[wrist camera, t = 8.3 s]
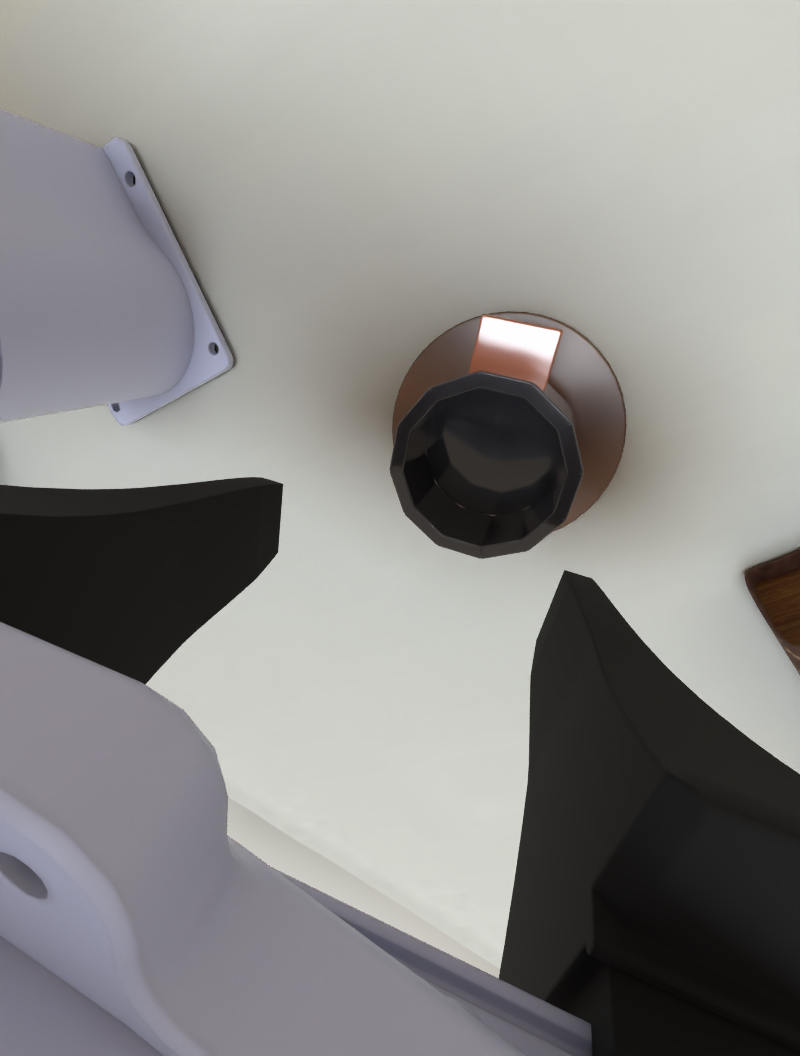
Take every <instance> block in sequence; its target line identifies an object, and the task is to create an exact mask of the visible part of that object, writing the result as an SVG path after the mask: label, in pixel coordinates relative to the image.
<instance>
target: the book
mask: <svg viewBox="0 0 800 1056" xmlns="http://www.w3.org/2000/svg"><path fill="white" fill-rule="evenodd" d="M745 581H746V584H747V587H748V589H749V592H750V594H751V596H752V598H753V600H754V601H755V603H756V605H757V607H758V608H759V610H760V612H761V613H762V615H763V617H764V618H765V620H766V622H767V623H768V625H769V626H770V628H771V630H772V631H773V633H774V634H775V636H776V638H777V639H778V641H779V642H780V644H781V646H782V647H783V649H784V650H785V652H786V654H787V655H788V657H789V658H790V660H791V661H792V663H793V665H794V666H795V668H796V669H797V671H798V673H799V674H800V550H798V551H796V552H794V553H791V554H789V555H787V556H784V557H782V558H779V559H777V560H774V561H771V562H768V563H765V564H762V565H759V566H756V567H753V568H751V569H749V570H748V571H746V573H745Z"/></svg>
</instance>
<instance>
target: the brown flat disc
mask: <svg viewBox="0 0 800 1056" xmlns="http://www.w3.org/2000/svg"><path fill="white" fill-rule="evenodd" d="M488 315H493V316H498V317H503V318H508V319H513V320H518V321H522V322H527V323H532V324H537V325H542V326H547V327H552V328H557V329H562V330H563V334H562V337H561V340H560V343H559V347H558V350H557V353H556V356H555V360H554V363H553V366H552V369H551V373H550V376H549V379H548V382H547V383H548V384H549V385H550V386H551V387H552V388H553V389H554V390H555V391H556V392H557V393H558V394H559V395H560V396H561V397H562V398H563V399H564V400H565V401H566V402H567V403H568V404H569V405H570V407H571V408H572V412H573V417H574V421H575V426H576V430H577V435H578V440H579V444H580V449H581V455H582V462H583V469H584V473H583V478H582V480H581V483H580V486H579V488H578V491H577V494H576V496H575V499H574V502H573V504H572V507H571V510H570V512H569V515H568V518H567V520H566V521H565V522H564V523H563V524H562V525H560V526H559V527H558V528H556V529H555V530H554V531H556V530H558V529H560V528H563V527H564V526H566V525H568V524H569V523H571V522H572V521H574V520H576V519H577V518H578V517H579V516H581V515H582V514H583V513H584V512H586V511H587V510H588V509H589V508H590V507H591V506H592V505H593V504H594V503H595V502H596V501H597V500H598V499H599V497H600V496H601V495H602V493H603V492H604V491H605V489H606V488H607V487H608V485H609V483H610V481H611V479H612V478H613V476H614V474H615V472H616V470H617V467H618V464H619V462H620V459H621V456H622V452H623V448H624V444H625V435H626V410H625V405H624V400H623V395H622V392H621V389H620V386H619V383H618V380H617V378H616V376H615V374H614V372H613V370H612V368H611V367H610V365H609V363H608V362H607V360H606V359H605V358H604V356H603V355H602V354H601V352H600V351H599V350H598V349H597V348H596V347H595V346H594V345H593V344H592V343H591V342H590V341H589V340H588V339H587V338H586V337H584V336H583V335H581V334H580V333H579V332H577V331H576V330H575V329H573V328H571V327H569V326H567V325H565V324H564V323H562V322H560V321H558V320H555V319H552V318H549V317H546V316H543V315H538V314H533V313H527V312H510V311H508V312H498V313H490V314H488ZM480 320H481V316H478V317H475V318H472V319H470V320H467V321H464V322H462V323H460V324H458V325H456V326H454V327H453V328H451V329H449V330H447V331H446V332H444V333H443V334H442V335H440V336H439V337H438V338H436V339H435V340H434V341H433V342H432V343H431V344H430V345H429V346H428V347H426V348H425V349H424V350H423V351H422V353H421V354H420V355H419V356H418V358H417V359H416V360H415V362H414V363H413V364H412V366H411V368H410V369H409V371H408V373H407V374H406V376H405V378H404V380H403V383H402V385H401V387H400V390H399V393H398V396H397V399H396V403H395V408H394V414H393V429H392V433H393V445H394V442H395V437H396V431H397V426H398V424H399V423H400V421H401V420H402V419H403V418H404V417H405V416H406V414H407V413H408V412H409V411H410V410H411V409H412V407H413V406H414V405H415V404H416V403H417V401H418V400H419V399H420V398H421V397H422V396H423V394H424V393H425V392H426V391H427V390H428V389H429V388H430V387H432V386H434V385H436V384H438V383H440V382H443V381H445V380H447V379H449V378H451V377H454V376H457V375H460V374H463V373H466V372H468V371H469V367H470V362H471V358H472V354H473V350H474V345H475V341H476V337H477V332H478V328H479V324H480ZM425 452H426V450H425ZM435 483H436V482H435ZM436 484H437V483H436ZM459 506H460V505H459ZM460 507H462V506H460ZM463 508H464V507H463ZM526 509H527V508H526ZM491 516H495V515H491ZM554 531H553V532H554ZM551 533H552V532H551Z"/></svg>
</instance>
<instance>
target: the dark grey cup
mask: <svg viewBox="0 0 800 1056" xmlns="http://www.w3.org/2000/svg"><path fill="white" fill-rule="evenodd" d="M562 334H563V330H562V329H557V328H552V327H547V326H542V325H537V324H532V323H527V322H522V321H518V320H513V319H508V318H503V317H498V316H493V315H488V314H482V316H481V320H480V324H479V328H478V332H477V337H476V341H475V345H474V350H473V354H472V358H471V362H470V367H469V371H468V372H466V373H463V374H460V375H457V376H454V377H451V378H449V379H447V380H445V381H443V382H440V383H438V384H436V385H434V386H432V387H430V388H429V389H428V390H427V391H426V392H425V393H424V394H423V396H422V397H421V398H420V399H419V400H418V401H417V403H416V404H415V405H414V406H413V407H412V409H411V410H410V411H409V412H408V413H407V414H406V416H405V417H404V418H403V419H402V420H401V421H400V423H399V424H398V426H397V431H396V437H395V442H394V448H393V454H392V459H391V465H390V474H391V477H392V479H393V482H394V485H395V488H396V491H397V494H398V497H399V500H400V503H401V506H402V509H403V512H404V513H405V515H406V516H407V517H408V518H409V519H410V520H411V521H412V522H413V523H414V524H415V525H416V526H417V527H419V528H420V529H421V530H422V531H423V532H424V533H425V534H426V535H427V536H428V537H429V538H430V539H431V540H432V541H433V542H434V543H435V544H438V546H441V547H444V548H448V549H451V550H454V551H457V552H460V553H464V554H467V555H470V556H473V557H477V558H482V559H484V558H490V557H496V556H501V555H507V554H513V553H519V552H525V551H527V550H530V549H531V548H532V547H534V546H535V545H536V544H538V543H539V542H540V541H541V540H543V539H544V538H545V537H546V536H548V535H549V534H550V533H551V532H553V531H554V530H555V529H556V528H558V527H559V526H560V525H562V524H563V523H564V522H565V521H566V520H567V518H568V515H569V512H570V510H571V507H572V504H573V502H574V499H575V496H576V494H577V491H578V488H579V486H580V483H581V480H582V478H583V473H584V469H583V462H582V455H581V449H580V444H579V440H578V435H577V430H576V426H575V421H574V417H573V412H572V408H571V407H570V405H569V404H568V403H567V402H566V401H565V400H564V399H563V398H562V397H561V396H560V395H559V394H558V393H557V392H556V391H555V390H554V389H553V388H552V387H551V386H550V385H549V384H548V383H547V382H548V379H549V376H550V373H551V369H552V366H553V363H554V360H555V356H556V353H557V350H558V347H559V343H560V340H561V337H562ZM425 450H426V452H425ZM435 482H436V483H437V484H436V483H435ZM459 505H460V506H462V507H460V506H459ZM463 507H464V508H463ZM526 508H527V509H526ZM491 515H495V516H491Z"/></svg>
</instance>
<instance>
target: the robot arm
mask: <svg viewBox="0 0 800 1056" xmlns="http://www.w3.org/2000/svg"><path fill="white" fill-rule="evenodd" d="M134 175H135V179H136V182H135V185H134V184H133V177H134ZM215 343H216V344H217V346H218V349H219V350H218V353H216V351H215V349H214V345H215ZM232 365H233V357H232V354H231V352H230V350H229V348H228V346H227V344H226V342H225V340H224V337H223V335H222V333H221V331H220V329H219V327H218V325H217V323H216V321H215V319H214V317H213V315H212V313H211V310H210V308H209V306H208V304H207V302H206V300H205V298H204V296H203V294H202V292H201V290H200V288H199V286H198V283H197V281H196V279H195V277H194V275H193V273H192V271H191V269H190V267H189V265H188V263H187V261H186V259H185V257H184V254H183V252H182V250H181V248H180V246H179V244H178V242H177V240H176V238H175V236H174V234H173V232H172V230H171V227H170V225H169V223H168V221H167V219H166V217H165V215H164V213H163V211H162V209H161V207H160V205H159V203H158V200H157V198H156V196H155V194H154V192H153V190H152V188H151V186H150V184H149V182H148V180H147V178H146V176H145V173H144V171H143V169H142V167H141V165H140V163H139V161H138V159H137V157H136V155H135V153H134V151H133V149H132V147H131V145H130V144H129V143H128V142H127V141H125V140H123V139H121V138H118V137H114V138H112V139H111V140H110V141H109V142H108V143H107V144H106V145H105V146H104V147H103V148H100V147H98V146H95V145H92V144H90V143H87V142H85V141H82V140H79V139H77V138H74V137H72V136H69V135H67V134H64V133H61V132H59V131H56V130H54V129H51V128H48V127H46V126H43V125H41V124H38V123H35V122H33V121H30V120H28V119H25V118H23V117H20V116H17V115H15V114H12V113H10V112H7V111H4V110H2V109H0V423H1V422H7V421H13V420H19V419H25V418H30V417H36V416H42V415H48V414H54V413H60V412H66V411H71V410H77V409H83V408H89V407H95V406H101V405H106V404H107V405H108V407H109V408H110V410H111V412H112V414H113V416H114V417H115V419H116V420H117V422H118V423H119V424H121V425H124V426H125V425H129V424H132V423H134V422H136V421H138V420H140V419H141V418H143V417H145V416H147V415H149V414H151V413H152V412H154V411H156V410H158V409H160V408H161V407H163V406H165V405H167V404H169V403H170V402H172V401H174V400H176V399H178V398H179V397H181V396H183V395H185V394H187V393H188V392H190V391H192V390H194V389H196V388H197V387H199V386H201V385H203V384H205V383H206V382H208V381H210V380H212V379H214V378H215V377H217V376H219V375H221V374H223V373H224V372H226V371H228V370H230V369H231V368H232ZM118 404H119V406H120V408H119V406H118ZM282 491H283V484H281V483H278V482H275V481H272V480H268V479H265V478H258V477H247V478H234V479H224V480H215V481H206V482H197V483H189V484H179V485H168V486H157V487H146V488H131V489H93V490H92V489H57V488H32V487H19V486H7V485H0V1056H800V774H799V773H797V772H796V771H794V770H793V769H791V768H790V767H788V766H787V765H785V764H784V763H782V762H781V761H779V760H778V759H777V758H775V757H774V756H773V755H771V754H770V753H768V752H767V751H766V750H764V749H763V748H762V747H760V746H759V745H757V744H756V743H755V742H753V741H752V740H751V739H749V738H748V737H747V736H746V735H744V734H743V733H742V732H741V731H739V730H738V729H737V728H736V727H734V726H733V725H732V724H730V723H729V722H728V721H727V720H725V719H724V718H723V717H722V716H720V715H719V714H718V713H717V712H715V711H714V710H713V709H712V708H711V707H710V706H708V705H707V704H706V703H705V702H704V701H703V700H701V699H700V698H699V697H698V696H697V695H696V694H695V693H694V692H693V691H692V690H690V689H689V688H688V687H687V686H686V685H685V684H684V683H683V682H682V681H681V680H680V679H679V678H677V677H676V676H675V675H674V674H673V673H672V672H671V671H670V670H669V669H668V668H667V667H666V666H665V665H664V664H663V663H662V662H661V660H660V659H659V658H658V657H657V656H656V655H655V654H654V653H653V652H652V651H651V650H650V649H649V647H648V646H647V645H646V644H645V643H644V642H643V641H642V640H641V638H640V637H639V636H638V635H637V634H636V633H635V631H634V630H633V629H632V628H631V627H630V625H629V624H628V623H627V622H626V620H625V619H624V618H623V617H622V615H621V614H620V613H619V612H618V610H617V609H616V608H615V606H614V605H613V604H612V603H611V601H610V600H609V599H608V597H607V596H606V595H605V593H604V592H603V591H602V590H601V588H600V587H599V586H598V585H597V583H596V582H595V581H594V580H593V579H592V578H588V577H585V576H582V575H579V574H575V573H572V572H569V571H566V570H564V573H563V575H562V578H561V580H560V583H559V585H558V588H557V590H556V593H555V595H554V598H553V600H552V603H551V605H550V608H549V610H548V613H547V615H546V618H545V620H544V623H543V625H542V628H541V630H540V633H539V635H538V638H537V640H536V646H535V652H534V658H533V664H532V671H531V683H530V735H529V771H528V785H527V793H526V801H525V809H524V816H523V824H522V832H521V839H520V846H519V853H518V860H517V867H516V874H515V881H514V888H513V894H512V900H511V907H510V913H509V920H508V926H507V932H506V939H505V945H504V951H503V957H502V963H501V969H500V975H499V979H498V978H496V977H494V976H492V975H490V974H488V973H486V972H484V971H482V970H480V969H478V968H476V967H474V966H472V965H470V964H468V963H466V962H464V961H462V960H460V959H457V958H455V957H453V956H451V955H449V954H447V953H445V952H443V951H441V950H439V949H437V948H435V947H433V946H431V945H429V944H427V943H425V942H423V941H421V940H419V939H417V938H415V937H413V936H411V935H408V934H407V933H404V932H402V931H400V930H398V929H396V928H394V927H392V926H390V925H388V924H386V923H384V922H382V921H380V920H378V919H376V918H374V917H372V916H370V915H368V914H366V913H364V912H362V911H360V910H357V909H356V908H354V907H352V906H349V905H347V904H345V903H343V902H341V901H339V900H337V899H335V898H333V897H331V896H329V895H327V894H325V893H323V892H321V891H319V890H317V889H315V888H313V887H311V886H309V885H307V884H305V883H303V882H300V881H299V880H296V879H295V878H292V877H290V876H288V875H286V874H284V873H282V872H280V871H278V870H276V869H274V868H272V867H270V866H269V865H267V864H266V863H265V862H264V861H262V860H261V859H259V858H258V857H257V856H255V855H254V854H253V853H251V852H250V851H249V850H247V849H246V848H245V847H243V846H242V845H240V844H239V843H238V842H236V841H235V840H233V839H232V838H230V837H229V836H227V811H228V796H227V791H226V785H225V782H224V778H223V775H222V771H221V768H220V764H219V761H218V758H217V754H216V751H215V748H214V747H213V745H212V744H211V743H210V742H209V741H208V739H207V738H206V737H205V736H204V734H203V733H202V732H201V731H200V729H199V728H198V727H197V726H196V725H195V723H194V722H193V721H192V720H191V718H190V717H189V716H188V715H187V713H186V712H185V711H184V710H183V709H181V708H180V707H178V706H177V705H175V704H174V703H172V702H171V701H169V700H168V699H166V698H165V697H163V696H161V695H160V694H158V693H157V692H155V691H154V690H152V689H151V688H149V687H148V686H146V685H145V684H146V683H147V682H148V681H149V680H150V679H151V677H152V676H153V675H154V674H155V673H156V672H157V671H158V670H159V668H160V667H161V666H162V665H163V664H164V663H165V662H166V661H167V660H168V659H169V658H170V657H171V656H172V654H173V653H174V652H175V651H176V650H177V649H178V648H179V647H180V646H181V645H182V644H183V643H184V642H185V641H186V640H187V639H188V638H189V637H190V636H191V635H192V634H193V633H194V632H196V631H197V630H198V629H199V628H200V627H201V626H202V625H204V624H205V623H206V622H207V621H208V620H209V619H211V618H212V617H213V616H214V615H215V614H216V613H218V612H219V611H220V610H221V609H222V608H223V607H225V606H226V605H227V604H228V603H229V602H230V601H231V600H233V599H234V598H235V597H236V596H237V595H238V594H239V593H241V592H242V591H243V590H244V589H245V588H246V587H247V586H249V585H250V584H251V583H252V582H253V581H254V580H255V579H256V578H257V577H258V576H259V575H260V574H261V572H262V571H263V570H264V569H265V568H266V567H267V565H268V564H269V563H270V562H271V560H272V559H273V558H274V557H275V555H276V554H277V553H278V545H279V531H280V518H281V505H282Z"/></svg>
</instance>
